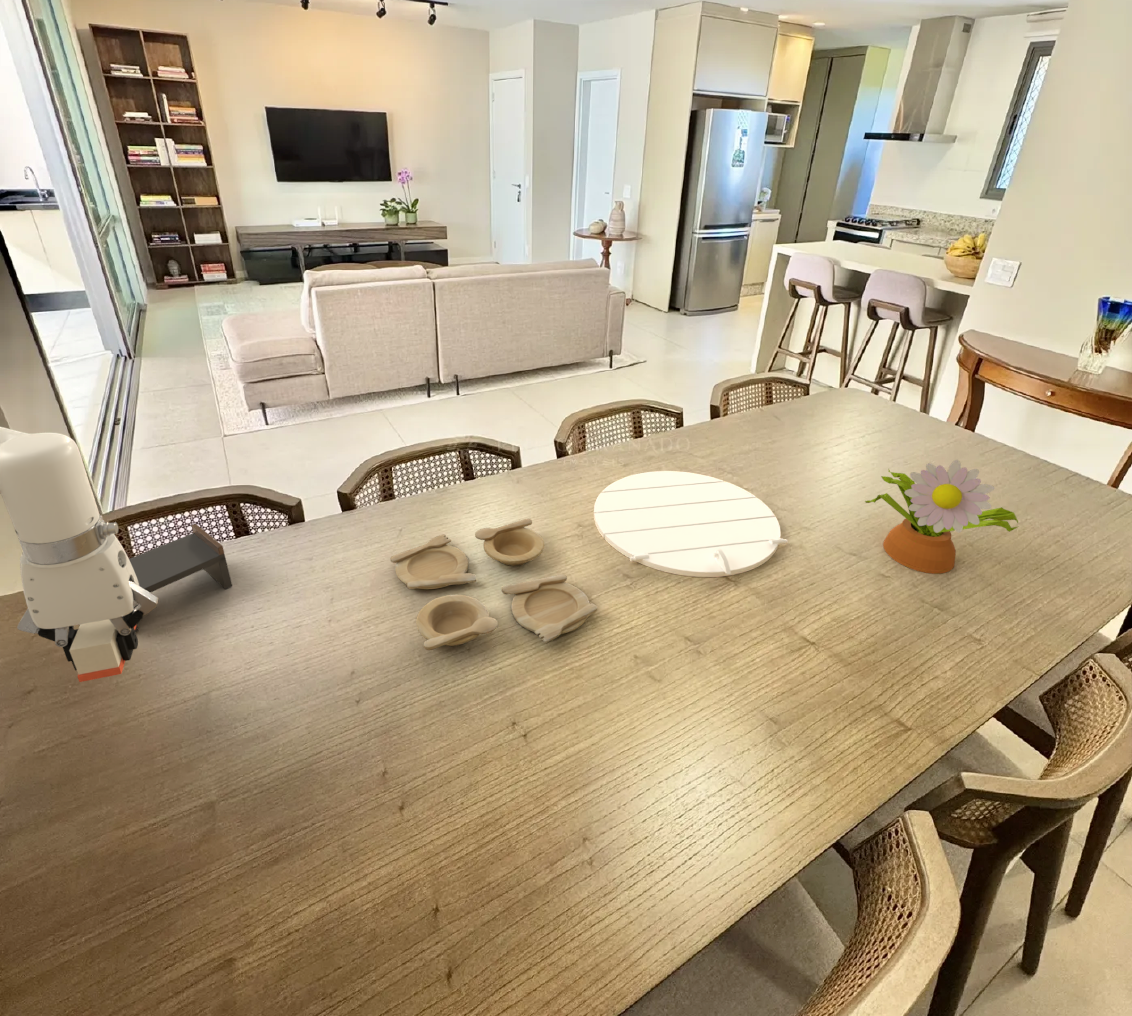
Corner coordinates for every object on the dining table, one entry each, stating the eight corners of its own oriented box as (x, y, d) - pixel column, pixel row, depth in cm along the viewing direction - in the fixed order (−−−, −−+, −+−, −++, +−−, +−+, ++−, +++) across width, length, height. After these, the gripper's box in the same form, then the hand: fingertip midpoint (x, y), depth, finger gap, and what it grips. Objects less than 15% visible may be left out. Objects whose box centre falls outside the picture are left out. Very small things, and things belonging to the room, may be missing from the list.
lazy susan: (820, 567, 122) (824, 552, 121) (628, 591, 114) (629, 576, 112) (727, 469, 157) (729, 457, 156) (574, 482, 148) (575, 469, 147)
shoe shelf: (130, 635, 100) (115, 591, 96) (106, 606, 105) (91, 564, 101) (232, 586, 111) (222, 545, 107) (206, 562, 116) (195, 523, 113)
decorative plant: (849, 565, 123) (883, 450, 112) (855, 507, 143) (884, 405, 132) (1009, 608, 114) (1063, 487, 103) (992, 539, 134) (1036, 432, 122)
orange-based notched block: (121, 674, 79) (111, 643, 77) (79, 682, 77) (67, 651, 75) (137, 620, 87) (128, 592, 85) (100, 627, 86) (89, 598, 83)
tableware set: (608, 631, 104) (610, 612, 103) (433, 687, 93) (431, 666, 91) (527, 522, 132) (527, 505, 131) (385, 554, 121) (383, 536, 119)
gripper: (155, 510, 79) (185, 624, 87) (-15, 532, 73) (35, 651, 81) (143, 544, 72) (177, 663, 80) (-43, 571, 67) (13, 696, 75)
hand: (105, 656), depth 81 cm, fingers closed on orange-based notched block, 4 cm apart
